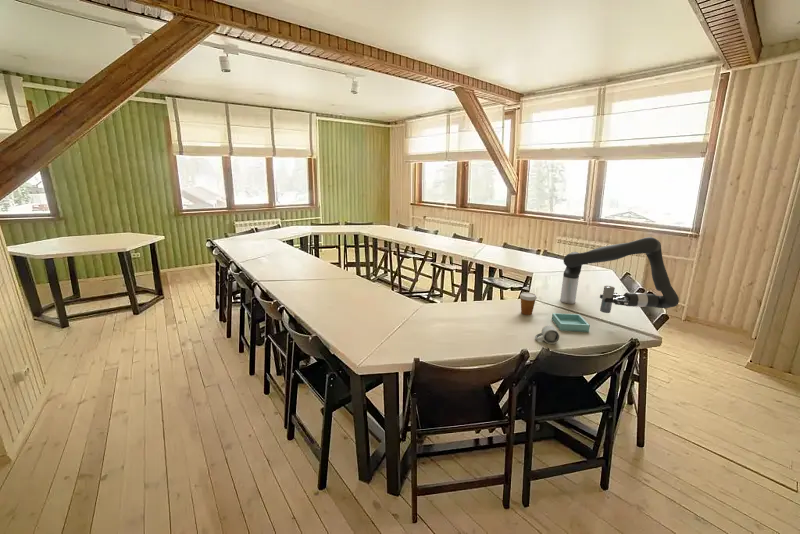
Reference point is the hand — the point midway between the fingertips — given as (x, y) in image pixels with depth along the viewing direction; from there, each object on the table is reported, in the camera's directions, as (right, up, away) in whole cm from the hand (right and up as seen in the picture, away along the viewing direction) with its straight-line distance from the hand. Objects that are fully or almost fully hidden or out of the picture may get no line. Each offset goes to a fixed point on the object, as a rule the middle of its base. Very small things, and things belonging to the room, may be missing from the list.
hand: (602, 298), depth 195 cm
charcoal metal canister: (+2, -7, +2) cm, 8 cm away
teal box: (-15, -16, +6) cm, 23 cm away
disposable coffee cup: (-34, -11, +23) cm, 42 cm away
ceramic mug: (-36, -21, -12) cm, 43 cm away
